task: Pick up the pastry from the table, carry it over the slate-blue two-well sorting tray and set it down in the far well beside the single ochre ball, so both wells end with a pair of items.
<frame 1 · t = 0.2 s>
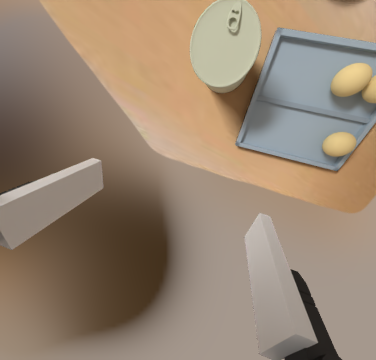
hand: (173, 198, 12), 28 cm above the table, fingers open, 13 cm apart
can: (224, 66, 29), on the table
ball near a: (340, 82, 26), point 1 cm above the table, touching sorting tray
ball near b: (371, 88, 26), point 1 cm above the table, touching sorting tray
sorting tray: (307, 108, 29), on the table
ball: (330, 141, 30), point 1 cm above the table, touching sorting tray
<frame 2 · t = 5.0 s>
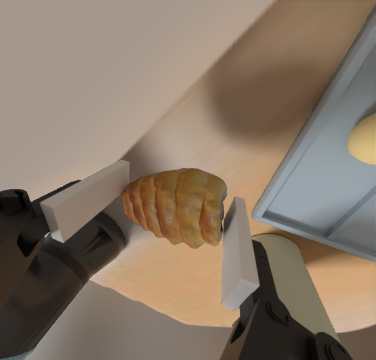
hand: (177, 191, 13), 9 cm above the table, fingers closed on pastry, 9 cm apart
can: (268, 252, 25), on the table
pastry: (183, 198, 14), point 8 cm above the table, touching gripper
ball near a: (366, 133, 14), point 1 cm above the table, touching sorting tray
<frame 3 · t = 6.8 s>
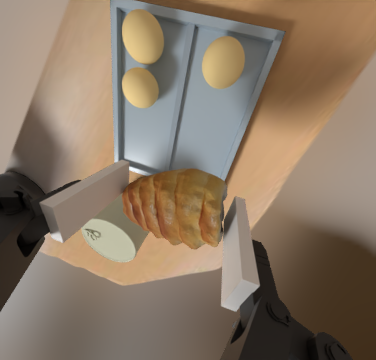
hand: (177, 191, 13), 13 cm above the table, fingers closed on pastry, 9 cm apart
can: (145, 198, 32), on the table
pastry: (183, 198, 14), point 12 cm above the table, touching gripper
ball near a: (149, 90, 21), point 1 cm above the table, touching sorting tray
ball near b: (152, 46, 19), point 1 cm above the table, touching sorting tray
sorting tray: (177, 117, 23), on the table
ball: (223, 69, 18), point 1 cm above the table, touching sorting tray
when the fingers open (3 cm above the table, at t = 9.1 s): pastry stays where it is, resting on sorting tray.
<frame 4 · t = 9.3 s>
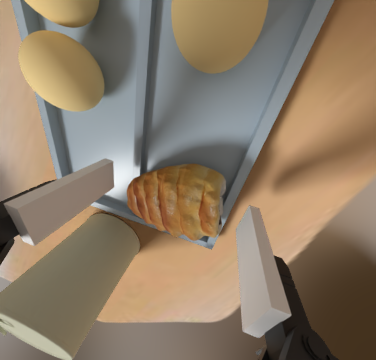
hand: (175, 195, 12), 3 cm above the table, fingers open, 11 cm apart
can: (114, 235, 23), on the table
pastry: (184, 194, 15), point 1 cm above the table, touching sorting tray
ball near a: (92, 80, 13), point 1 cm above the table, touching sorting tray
sorting tray: (145, 126, 14), on the table
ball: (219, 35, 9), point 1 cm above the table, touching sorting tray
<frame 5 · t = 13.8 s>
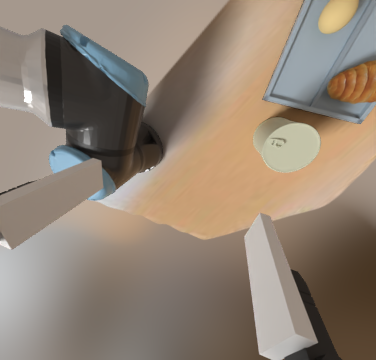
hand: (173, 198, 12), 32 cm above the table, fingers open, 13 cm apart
can: (272, 137, 37), on the table
pastry: (358, 85, 28), point 1 cm above the table, touching sorting tray
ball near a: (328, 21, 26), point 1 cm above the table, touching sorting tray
sorting tray: (344, 47, 27), on the table
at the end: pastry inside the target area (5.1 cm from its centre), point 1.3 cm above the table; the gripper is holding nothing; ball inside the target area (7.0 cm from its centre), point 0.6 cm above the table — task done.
